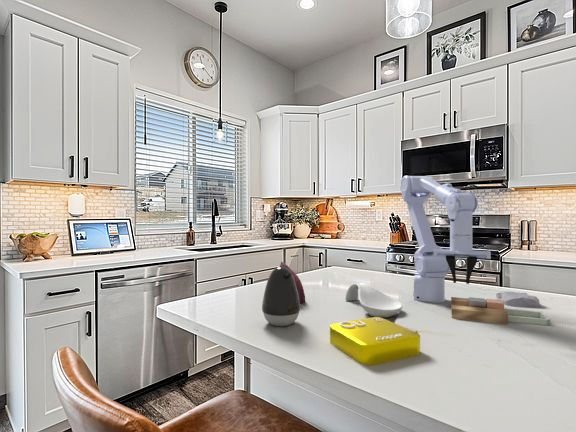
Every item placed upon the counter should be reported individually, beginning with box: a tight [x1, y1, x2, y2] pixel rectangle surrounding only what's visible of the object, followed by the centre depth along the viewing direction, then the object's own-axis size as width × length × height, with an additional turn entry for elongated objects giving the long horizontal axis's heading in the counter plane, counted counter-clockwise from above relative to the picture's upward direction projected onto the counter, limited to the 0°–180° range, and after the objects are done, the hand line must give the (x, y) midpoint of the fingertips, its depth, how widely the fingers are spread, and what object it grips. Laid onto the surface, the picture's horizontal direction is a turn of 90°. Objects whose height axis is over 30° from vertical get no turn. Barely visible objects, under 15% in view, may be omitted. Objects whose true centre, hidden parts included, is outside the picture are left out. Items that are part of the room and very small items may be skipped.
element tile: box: [329, 316, 421, 366], centre depth 77 cm, size 15×15×5 cm
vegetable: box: [279, 261, 306, 305], centre depth 115 cm, size 10×10×15 cm
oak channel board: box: [450, 296, 509, 325], centre depth 98 cm, size 13×14×4 cm
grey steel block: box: [468, 296, 486, 308], centre depth 98 cm, size 4×4×4 cm
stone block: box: [495, 291, 541, 309], centre depth 110 cm, size 12×5×10 cm
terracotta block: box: [485, 298, 505, 310], centre depth 96 cm, size 4×4×4 cm
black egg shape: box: [261, 266, 301, 327], centre depth 93 cm, size 10×10×15 cm
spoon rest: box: [345, 282, 403, 319], centre depth 106 cm, size 24×12×7 cm, turn 19°
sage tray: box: [504, 307, 551, 327], centre depth 93 cm, size 9×8×2 cm
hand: (461, 282), depth 99 cm, fingers open, 3 cm apart
